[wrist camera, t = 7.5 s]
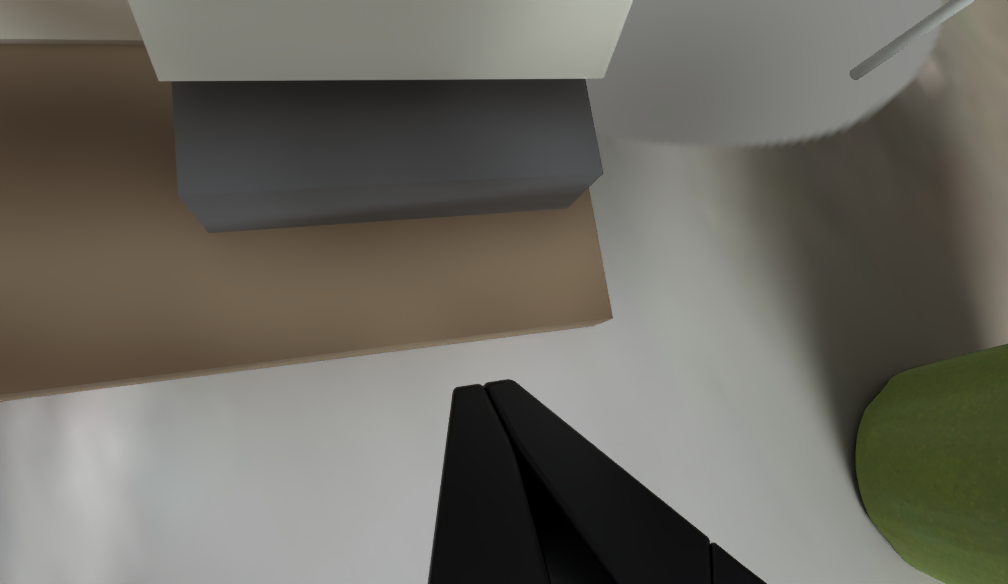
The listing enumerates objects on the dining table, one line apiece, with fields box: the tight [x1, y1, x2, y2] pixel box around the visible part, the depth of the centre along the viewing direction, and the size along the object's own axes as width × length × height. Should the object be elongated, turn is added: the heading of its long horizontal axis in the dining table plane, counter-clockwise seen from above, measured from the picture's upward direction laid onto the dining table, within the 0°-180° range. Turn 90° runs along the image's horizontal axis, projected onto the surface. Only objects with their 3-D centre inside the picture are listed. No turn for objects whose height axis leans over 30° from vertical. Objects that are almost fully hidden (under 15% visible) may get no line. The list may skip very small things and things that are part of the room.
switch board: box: [0, 0, 613, 401], centre depth 14 cm, size 12×30×4 cm, turn 99°
